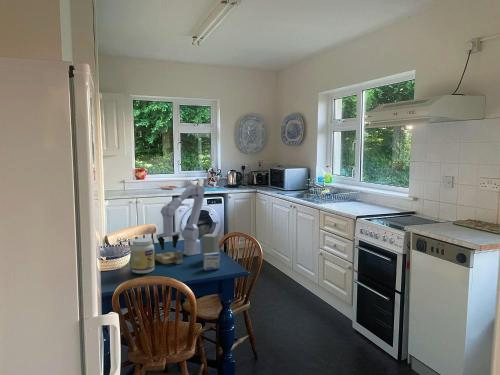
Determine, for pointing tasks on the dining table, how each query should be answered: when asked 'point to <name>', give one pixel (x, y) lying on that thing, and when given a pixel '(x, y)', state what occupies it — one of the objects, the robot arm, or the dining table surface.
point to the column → (178, 257)
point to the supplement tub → (142, 255)
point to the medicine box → (211, 261)
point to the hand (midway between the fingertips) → (168, 248)
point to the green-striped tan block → (165, 257)
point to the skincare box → (210, 244)
